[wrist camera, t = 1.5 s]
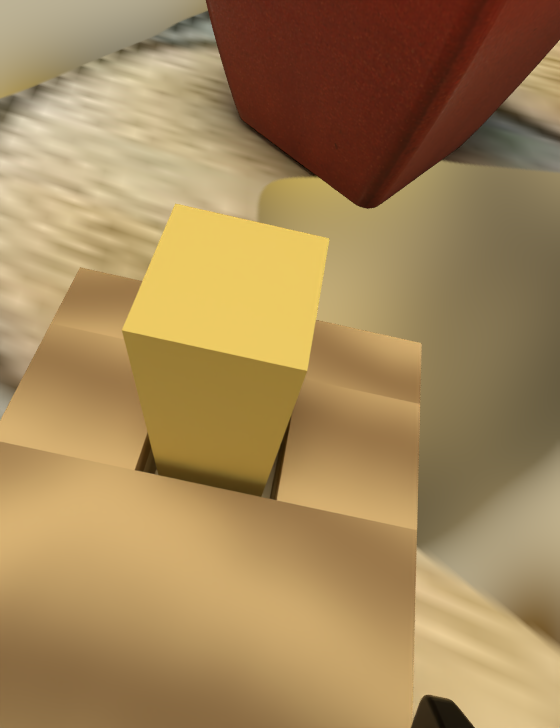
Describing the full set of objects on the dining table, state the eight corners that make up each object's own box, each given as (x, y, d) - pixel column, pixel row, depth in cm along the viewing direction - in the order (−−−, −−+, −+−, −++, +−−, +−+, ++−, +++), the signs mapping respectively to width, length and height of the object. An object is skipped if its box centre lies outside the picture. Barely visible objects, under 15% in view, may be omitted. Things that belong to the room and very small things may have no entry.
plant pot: (522, 150, 39) (710, -149, 24) (378, 270, 30) (538, -82, 16) (339, 38, 44) (405, -264, 29) (171, 112, 35) (150, -261, 21)
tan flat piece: (339, 1062, 14) (399, 1239, 10) (-237, 955, 14) (-437, 1092, 9) (385, 395, 26) (421, 343, 21) (72, 326, 25) (45, 259, 21)
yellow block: (256, 511, 21) (307, 371, 10) (162, 491, 21) (122, 330, 10) (273, 425, 23) (329, 238, 13) (188, 407, 23) (175, 203, 12)
